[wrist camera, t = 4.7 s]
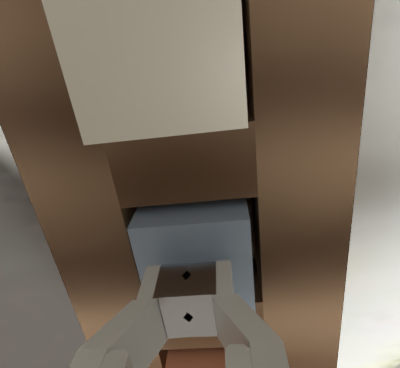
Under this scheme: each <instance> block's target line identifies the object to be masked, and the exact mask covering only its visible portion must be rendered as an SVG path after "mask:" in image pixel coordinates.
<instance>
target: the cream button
mask: <svg viewBox="0 0 400 368" xmlns="http://www.w3.org/2000/svg"><path fill="white" fill-rule="evenodd" d="M41 1H42V4H43V7H44V11H45V14H46V18H47V21H48V25H49V28H50V31H51V35H52V38H53V42H54V45H55V49H56V52H57V55H58V59H59V62H60V66H61V69H62V73H63V76H64V79H65V83H66V86H67V90H68V93H69V97H70V100H71V103H72V107H73V110H74V114H75V117H76V121H77V124H78V127H79V131H80V134H81V138H82V141H83V145H92V144H101V143H111V142H120V141H130V140H140V139H149V138H159V137H168V136H178V135H187V134H197V133H206V132H216V131H225V130H235V129H245V128H248V113H247V95H246V77H245V58H244V40H243V22H242V4H241V0H41Z"/></svg>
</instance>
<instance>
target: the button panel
mask: <svg viewBox="0 0 400 368" xmlns="http://www.w3.org/2000/svg"><path fill="white" fill-rule="evenodd" d="M241 4H242V22H243V40H244V58H245V77H246V95H247V113H248V128H245V129H235V130H225V131H216V132H206V133H197V134H187V135H178V136H168V137H159V138H149V139H140V140H130V141H120V142H111V143H101V144H92V145H83V141H82V138H81V134H80V131H79V127H78V124H77V121H76V117H75V114H74V110H73V107H72V103H71V100H70V97H69V93H68V90H67V86H66V83H65V79H64V76H63V73H62V69H61V66H60V62H59V59H58V55H57V52H56V49H55V45H54V42H53V38H52V35H51V31H50V28H49V25H48V21H47V18H46V14H45V11H44V7H43V4H42V1H41V0H0V125H1V128H2V130H3V133H4V135H5V138H6V140H7V143H8V145H9V148H10V150H11V153H12V155H13V158H14V160H15V163H16V165H17V168H18V170H19V173H20V175H21V178H22V180H23V183H24V185H25V188H26V190H27V193H28V195H29V198H30V200H31V203H32V205H33V208H34V210H35V213H36V215H37V218H38V220H39V223H40V225H41V228H42V230H43V233H44V235H45V238H46V240H47V243H48V245H49V248H50V250H51V253H52V255H53V258H54V260H55V263H56V265H57V268H58V270H59V273H60V275H61V278H62V280H63V283H64V285H65V288H66V290H67V293H68V295H69V298H70V300H71V303H72V305H73V308H74V310H75V313H76V315H77V318H78V320H79V323H80V325H81V328H82V330H83V333H84V335H85V338H86V340H88V339H90V338H91V337H92V336H93V335H94V334H95V333H96V332H97V331H98V330H100V329H101V328H102V327H103V326H104V325H105V324H106V323H107V322H108V321H109V320H111V319H112V318H113V317H114V316H115V315H116V314H117V313H118V312H119V311H121V310H122V309H123V308H124V307H125V306H126V305H127V304H128V303H129V302H131V301H132V300H136V299H137V295H138V292H139V289H140V286H141V281H140V278H139V274H138V270H137V266H136V262H135V259H134V255H133V251H132V247H131V243H130V239H129V236H128V232H127V228H128V226H129V224H130V222H131V219H132V217H133V215H134V213H135V211H136V209H137V207H143V206H155V205H167V204H179V203H191V202H203V201H215V200H227V199H239V198H246V201H247V206H248V211H249V217H250V226H251V243H252V260H253V276H254V293H255V310H256V313H257V314H258V315H259V316H260V317H261V318H262V320H263V321H264V322H265V323H266V324H267V325H268V326H269V327H270V328H271V329H272V330H273V331H274V332H275V333H276V334H277V335H278V336H279V337H280V338H281V339H282V340H283V342H284V346H285V351H286V355H287V359H288V364H289V368H337V359H338V349H339V339H340V330H341V320H342V310H343V301H344V291H345V281H346V272H347V262H348V252H349V242H350V233H351V223H352V213H353V204H354V194H355V184H356V175H357V165H358V155H359V146H360V136H361V126H362V116H363V107H364V97H365V87H366V78H367V68H368V58H369V49H370V39H371V29H372V19H373V10H374V0H241ZM199 348H224V347H223V346H222V344H221V342H220V341H219V339H218V338H217V336H210V337H184V338H171V339H167V341H166V343H165V344H164V346H163V347H162V349H161V350H160V351H159V353H158V354H157V356H156V357H155V358H154V360H153V361H152V363H151V364H150V365H149V367H148V368H165V365H166V359H167V352H168V350H172V349H199Z"/></svg>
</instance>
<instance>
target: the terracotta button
mask: <svg viewBox="0 0 400 368" xmlns="http://www.w3.org/2000/svg"><path fill="white" fill-rule="evenodd" d="M165 368H225V349H224V348H199V349H172V350H168V352H167V359H166V365H165Z"/></svg>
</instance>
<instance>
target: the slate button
mask: <svg viewBox="0 0 400 368" xmlns="http://www.w3.org/2000/svg"><path fill="white" fill-rule="evenodd" d="M127 232H128V236H129V239H130V243H131V247H132V251H133V255H134V259H135V262H136V266H137V270H138V274H139V278H140V281H141V282H142V279H143V276H144V272H145V269H146V267H147V266H148V265H162V264H180V263H197V262H210V261H218V260H229V259H230V260H231V268H232V277H233V287H234V294H238V295H239V296H240V297H241V298H242V299H243V300H244V301H245V302H246V303H247V304H248V305H249V306H250V307H251V308H252V309H253V310H254V311H255V312H256V310H255V293H254V276H253V260H252V243H251V226H250V217H249V211H248V206H247V201H246V198H239V199H227V200H215V201H203V202H191V203H179V204H167V205H155V206H143V207H137V209H136V211H135V213H134V215H133V217H132V219H131V222H130V224H129V226H128V228H127Z"/></svg>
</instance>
